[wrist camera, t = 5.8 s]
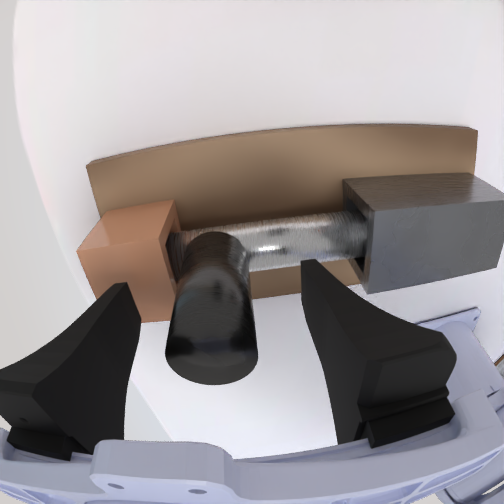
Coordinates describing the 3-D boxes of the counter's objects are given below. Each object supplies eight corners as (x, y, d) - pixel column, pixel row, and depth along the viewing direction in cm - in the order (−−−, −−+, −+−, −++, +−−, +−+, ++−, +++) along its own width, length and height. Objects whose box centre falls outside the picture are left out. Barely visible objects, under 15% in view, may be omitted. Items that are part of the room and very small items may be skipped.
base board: (450, 259, 21) (456, 266, 20) (137, 302, 21) (134, 311, 20) (468, 127, 16) (477, 130, 15) (92, 161, 16) (85, 165, 15)
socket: (190, 268, 19) (182, 319, 15) (128, 276, 19) (108, 324, 15) (174, 199, 17) (158, 238, 13) (106, 211, 17) (76, 251, 13)
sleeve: (459, 233, 19) (496, 267, 15) (341, 249, 19) (367, 294, 15) (469, 172, 17) (513, 199, 13) (342, 178, 17) (374, 211, 13)
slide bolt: (378, 243, 18) (448, 341, 11) (151, 272, 18) (117, 388, 11) (382, 194, 16) (469, 280, 9) (137, 224, 16) (83, 333, 9)
